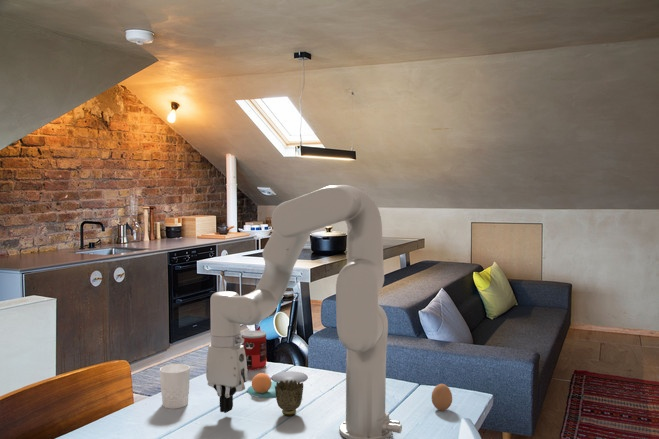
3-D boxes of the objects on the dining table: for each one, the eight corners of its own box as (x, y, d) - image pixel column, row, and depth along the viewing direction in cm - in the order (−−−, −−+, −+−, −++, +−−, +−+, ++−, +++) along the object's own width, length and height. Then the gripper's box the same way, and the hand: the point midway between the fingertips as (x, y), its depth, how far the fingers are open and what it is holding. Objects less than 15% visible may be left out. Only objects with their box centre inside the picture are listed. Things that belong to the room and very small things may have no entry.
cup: (299, 421, 153) (299, 390, 153) (271, 418, 155) (271, 388, 154) (306, 410, 160) (306, 380, 160) (279, 408, 162) (279, 378, 161)
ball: (269, 398, 171) (276, 384, 176) (263, 382, 169) (271, 369, 173) (251, 397, 173) (259, 384, 178) (246, 381, 171) (254, 368, 176)
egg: (428, 407, 163) (428, 381, 162) (446, 405, 164) (447, 380, 164) (436, 414, 158) (436, 388, 157) (455, 412, 159) (456, 386, 158)
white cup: (154, 406, 163) (153, 369, 162) (174, 397, 170) (173, 362, 169) (176, 411, 159) (176, 374, 158) (196, 402, 166) (196, 366, 165)
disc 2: (313, 374, 190) (313, 374, 190) (297, 385, 180) (297, 385, 180) (282, 370, 194) (282, 369, 194) (265, 380, 184) (265, 379, 184)
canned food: (238, 364, 200) (238, 331, 199) (261, 361, 203) (261, 329, 203) (245, 371, 193) (245, 337, 192) (269, 368, 196) (269, 334, 196)
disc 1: (300, 386, 179) (300, 385, 179) (278, 400, 167) (278, 399, 167) (262, 379, 185) (262, 379, 185) (238, 393, 173) (238, 392, 173)
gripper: (258, 340, 155) (258, 410, 156) (210, 333, 161) (211, 401, 163) (242, 347, 148) (242, 420, 149) (192, 340, 155) (193, 411, 156)
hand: (226, 410), depth 156 cm, fingers closed
